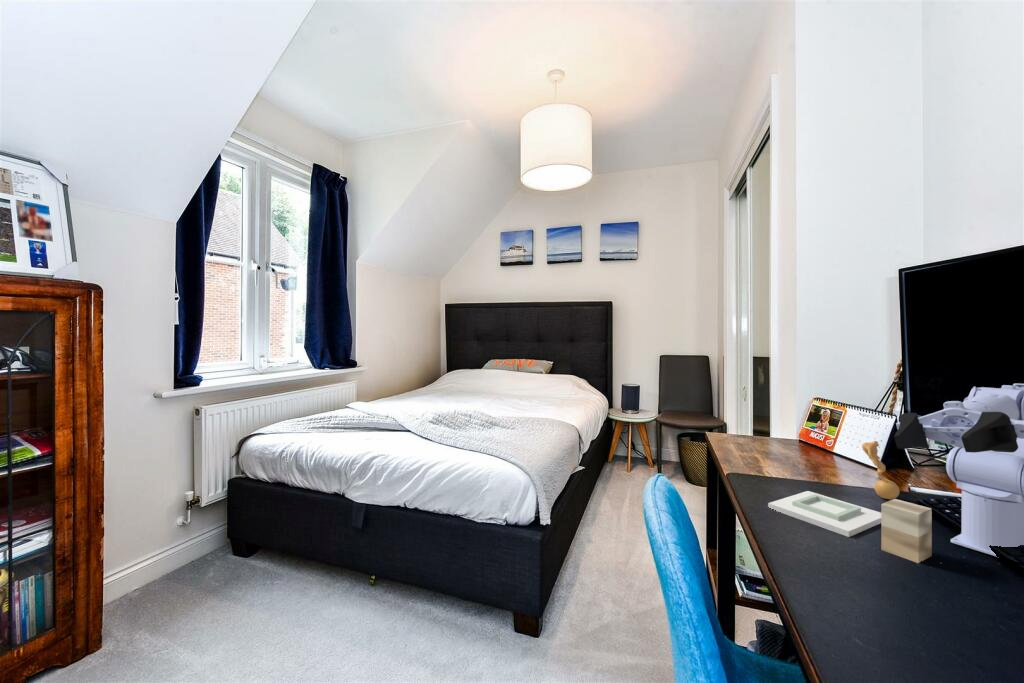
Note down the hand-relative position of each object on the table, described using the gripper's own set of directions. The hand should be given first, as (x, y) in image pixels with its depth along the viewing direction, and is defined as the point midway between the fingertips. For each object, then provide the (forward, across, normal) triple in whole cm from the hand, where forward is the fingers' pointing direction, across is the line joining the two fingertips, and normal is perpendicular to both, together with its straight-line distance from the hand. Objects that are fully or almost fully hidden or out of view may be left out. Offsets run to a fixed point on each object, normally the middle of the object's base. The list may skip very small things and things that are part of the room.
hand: (930, 443), depth 61 cm
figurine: (-25, -24, +20) cm, 40 cm away
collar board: (-7, -23, +17) cm, 29 cm away
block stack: (-2, -9, +19) cm, 21 cm away
